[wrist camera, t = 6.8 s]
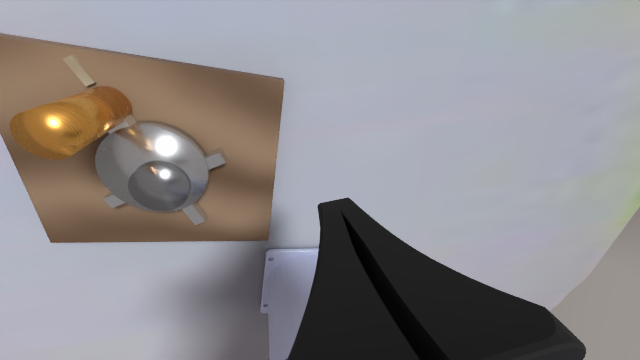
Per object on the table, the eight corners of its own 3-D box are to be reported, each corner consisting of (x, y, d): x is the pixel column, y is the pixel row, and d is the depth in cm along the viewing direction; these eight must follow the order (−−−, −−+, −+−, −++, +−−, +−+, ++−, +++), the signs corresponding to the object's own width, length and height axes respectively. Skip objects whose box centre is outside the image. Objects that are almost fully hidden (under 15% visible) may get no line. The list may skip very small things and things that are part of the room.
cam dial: (251, 197, 19) (248, 245, 14) (153, 236, 19) (121, 296, 14) (165, 59, 13) (120, 72, 9) (27, 114, 13) (-82, 153, 9)
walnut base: (267, 231, 22) (268, 242, 21) (62, 230, 18) (48, 244, 17) (282, 78, 16) (284, 82, 15) (-22, 29, 12) (-52, 29, 11)
